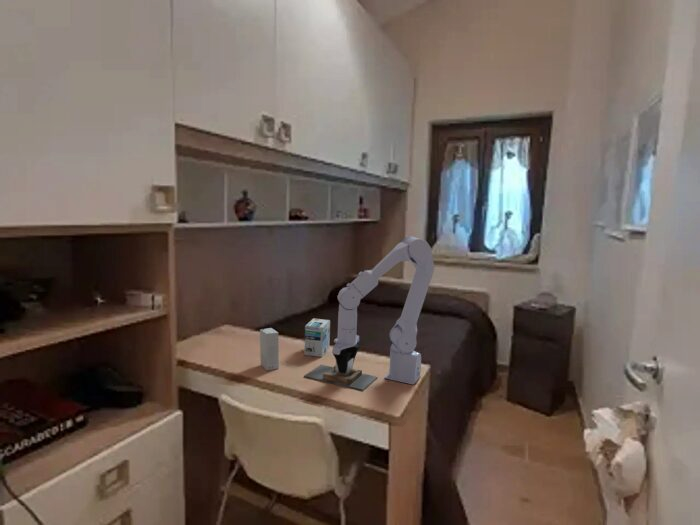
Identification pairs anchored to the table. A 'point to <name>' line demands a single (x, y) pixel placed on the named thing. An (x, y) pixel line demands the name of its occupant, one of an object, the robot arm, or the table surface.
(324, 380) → the dock
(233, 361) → the table surface
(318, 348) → the light bulb box
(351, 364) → the aluminium block
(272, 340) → the skincare box
